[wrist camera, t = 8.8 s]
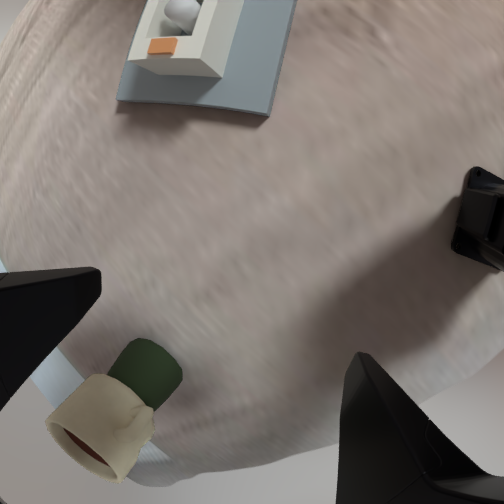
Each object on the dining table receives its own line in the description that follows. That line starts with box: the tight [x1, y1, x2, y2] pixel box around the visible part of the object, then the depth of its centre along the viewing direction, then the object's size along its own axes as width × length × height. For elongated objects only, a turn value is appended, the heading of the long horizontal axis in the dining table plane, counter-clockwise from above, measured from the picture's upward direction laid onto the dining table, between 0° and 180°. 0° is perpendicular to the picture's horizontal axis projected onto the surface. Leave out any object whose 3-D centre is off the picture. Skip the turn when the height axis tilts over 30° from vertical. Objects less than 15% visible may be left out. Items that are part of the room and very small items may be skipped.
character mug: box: [45, 338, 182, 483], centre depth 20 cm, size 11×7×13 cm, turn 122°
